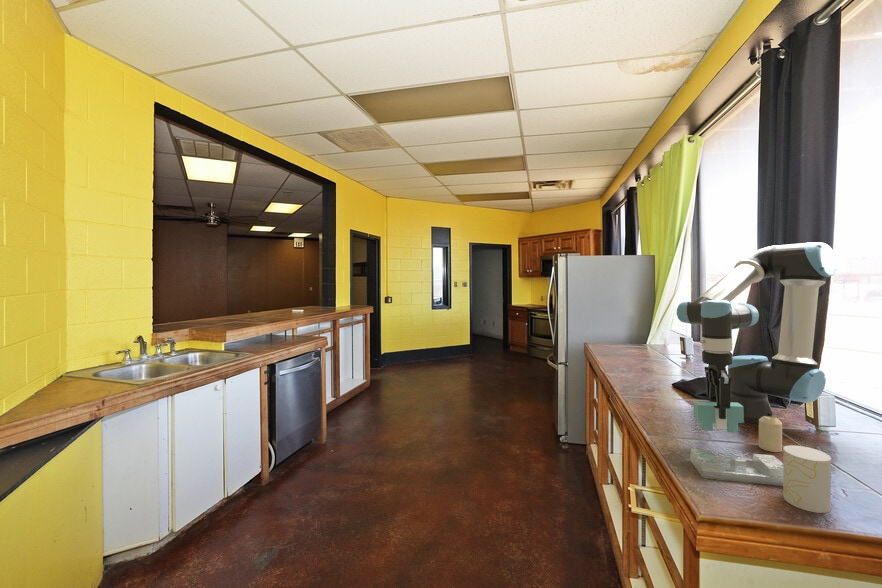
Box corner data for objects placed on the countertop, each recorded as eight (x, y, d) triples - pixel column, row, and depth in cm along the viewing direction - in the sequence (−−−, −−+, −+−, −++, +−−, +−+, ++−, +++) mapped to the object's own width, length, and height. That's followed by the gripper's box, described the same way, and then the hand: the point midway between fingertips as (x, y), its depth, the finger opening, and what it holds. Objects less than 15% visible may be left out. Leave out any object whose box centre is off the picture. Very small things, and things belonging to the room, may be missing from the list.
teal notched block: (738, 428, 118) (738, 402, 118) (744, 432, 115) (743, 406, 114) (694, 425, 122) (693, 401, 121) (698, 430, 118) (697, 404, 118)
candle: (776, 445, 120) (776, 414, 120) (785, 453, 115) (786, 420, 115) (755, 443, 122) (755, 412, 122) (763, 451, 117) (763, 419, 116)
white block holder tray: (771, 468, 107) (771, 454, 107) (793, 487, 97) (793, 471, 97) (690, 460, 112) (690, 447, 112) (703, 477, 103) (702, 463, 103)
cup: (774, 494, 95) (774, 446, 94) (804, 491, 95) (804, 444, 95) (808, 514, 86) (808, 462, 86) (840, 511, 87) (841, 459, 87)
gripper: (693, 345, 126) (694, 415, 127) (713, 356, 110) (715, 436, 111) (719, 345, 124) (721, 416, 125) (744, 356, 108) (745, 437, 109)
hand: (718, 425), depth 118 cm, fingers closed on teal notched block, 3 cm apart
